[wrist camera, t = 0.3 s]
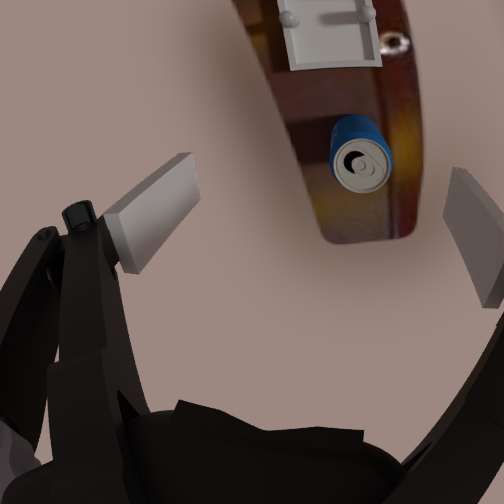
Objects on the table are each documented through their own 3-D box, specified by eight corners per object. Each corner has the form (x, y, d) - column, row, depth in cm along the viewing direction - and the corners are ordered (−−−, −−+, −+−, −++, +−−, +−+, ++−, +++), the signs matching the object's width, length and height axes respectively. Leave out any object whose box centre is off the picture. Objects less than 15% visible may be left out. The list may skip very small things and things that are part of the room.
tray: (275, -20, 27) (266, -30, 23) (362, -26, 23) (366, -37, 19) (293, 70, 34) (286, 71, 30) (379, 66, 30) (385, 66, 26)
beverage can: (343, 104, 35) (346, 122, 26) (387, 127, 35) (406, 154, 26) (323, 146, 39) (318, 179, 30) (366, 167, 39) (375, 207, 30)
